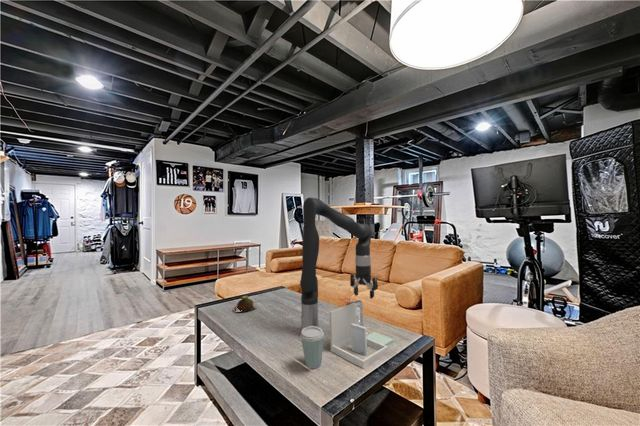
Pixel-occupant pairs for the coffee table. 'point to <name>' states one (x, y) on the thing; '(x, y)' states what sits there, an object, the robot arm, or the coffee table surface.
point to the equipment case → (342, 336)
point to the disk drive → (358, 311)
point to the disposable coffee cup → (312, 345)
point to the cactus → (245, 304)
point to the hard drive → (358, 339)
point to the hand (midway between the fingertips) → (363, 296)
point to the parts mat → (380, 338)
